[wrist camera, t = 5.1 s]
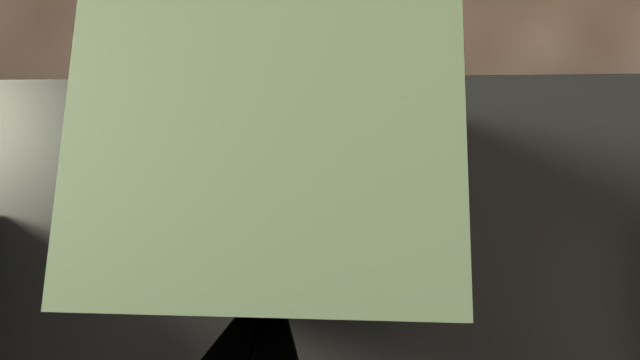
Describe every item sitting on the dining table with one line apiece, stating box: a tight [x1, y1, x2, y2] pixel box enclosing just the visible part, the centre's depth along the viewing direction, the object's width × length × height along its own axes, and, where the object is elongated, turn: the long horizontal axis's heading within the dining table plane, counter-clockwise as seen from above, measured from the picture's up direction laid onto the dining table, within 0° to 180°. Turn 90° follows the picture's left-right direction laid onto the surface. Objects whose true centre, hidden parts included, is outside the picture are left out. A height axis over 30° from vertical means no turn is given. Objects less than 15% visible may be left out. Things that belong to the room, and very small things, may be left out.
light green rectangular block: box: [41, 0, 473, 323], centre depth 12 cm, size 6×6×8 cm
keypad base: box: [0, 74, 640, 360], centre depth 16 cm, size 12×33×2 cm, turn 89°
